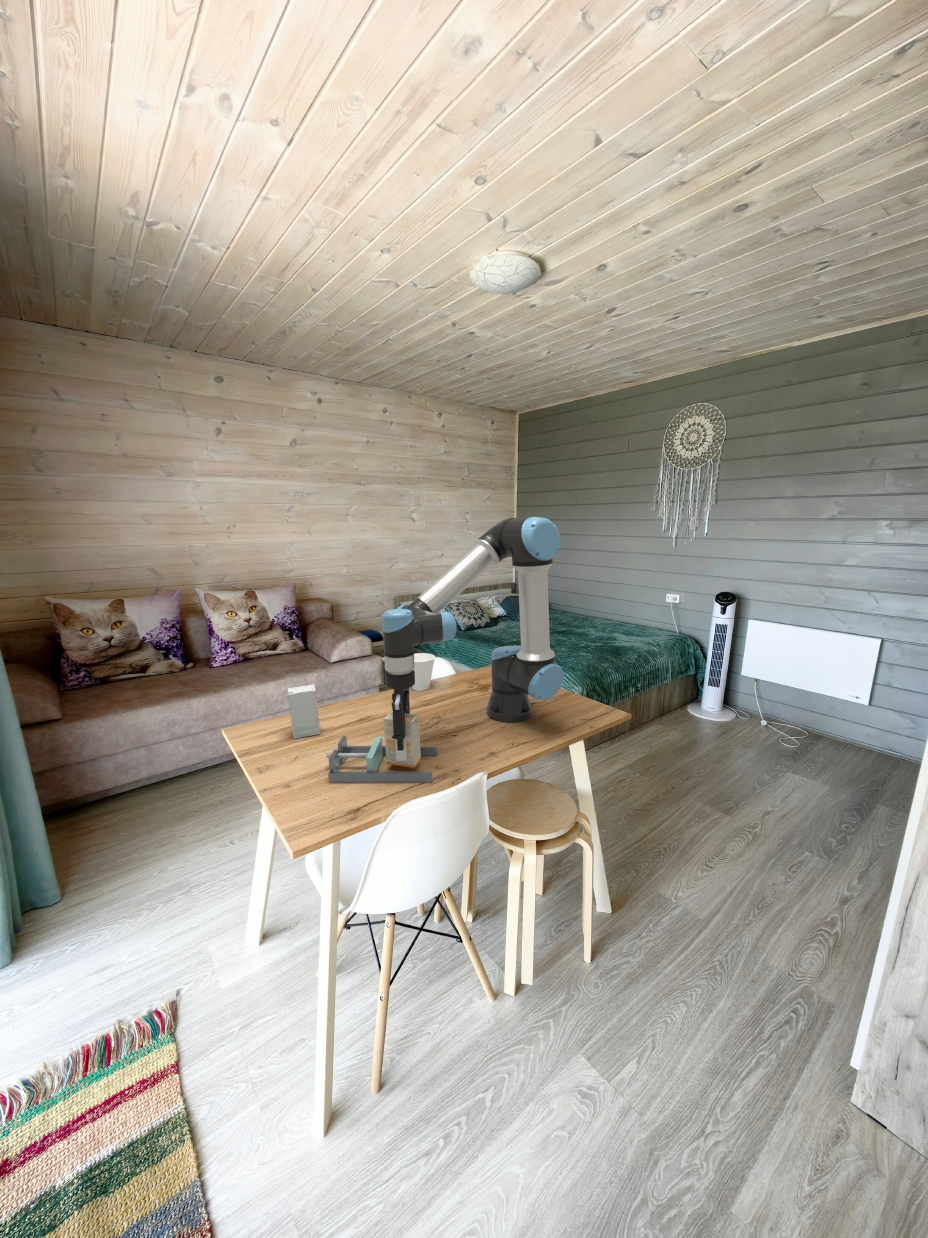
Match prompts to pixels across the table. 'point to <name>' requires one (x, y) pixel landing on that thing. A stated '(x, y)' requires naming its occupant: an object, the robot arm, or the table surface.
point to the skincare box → (303, 711)
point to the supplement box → (411, 741)
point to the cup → (423, 670)
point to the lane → (374, 776)
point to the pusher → (368, 755)
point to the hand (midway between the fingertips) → (403, 754)
